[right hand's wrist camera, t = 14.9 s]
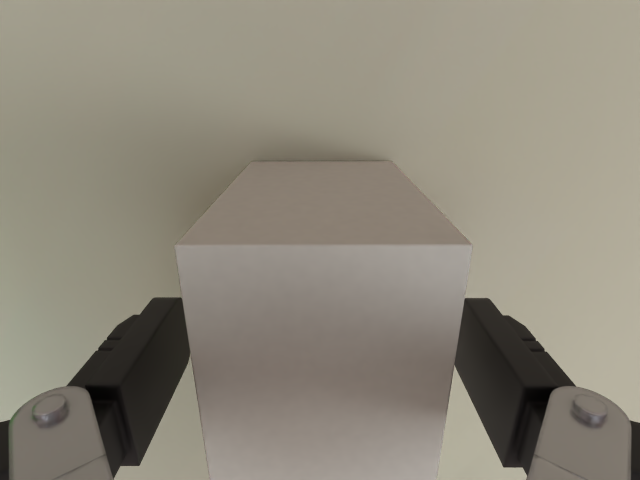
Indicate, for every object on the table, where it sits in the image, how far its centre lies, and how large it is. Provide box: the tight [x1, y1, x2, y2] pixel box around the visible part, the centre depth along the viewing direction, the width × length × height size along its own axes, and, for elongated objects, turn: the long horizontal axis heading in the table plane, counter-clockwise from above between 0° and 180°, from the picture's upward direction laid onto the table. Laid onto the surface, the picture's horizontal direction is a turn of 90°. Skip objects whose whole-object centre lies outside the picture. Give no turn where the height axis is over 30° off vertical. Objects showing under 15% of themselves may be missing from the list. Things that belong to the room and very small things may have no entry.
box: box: [174, 161, 473, 480], centre depth 17 cm, size 25×6×9 cm, turn 0°
